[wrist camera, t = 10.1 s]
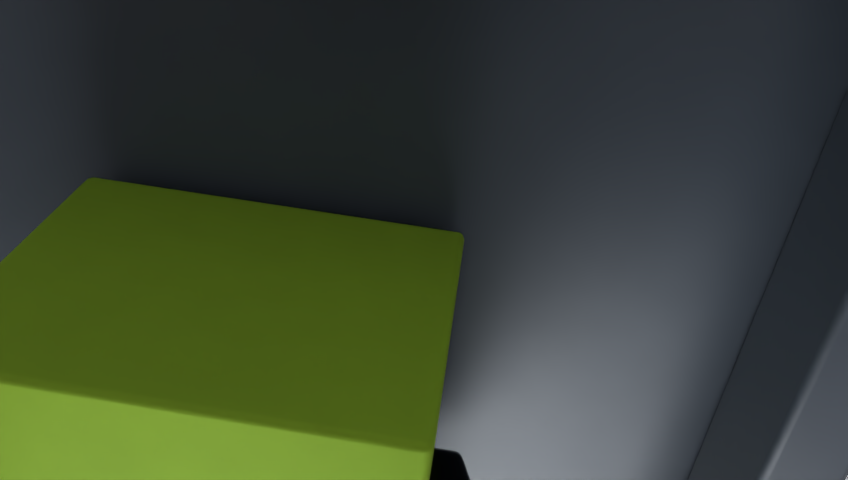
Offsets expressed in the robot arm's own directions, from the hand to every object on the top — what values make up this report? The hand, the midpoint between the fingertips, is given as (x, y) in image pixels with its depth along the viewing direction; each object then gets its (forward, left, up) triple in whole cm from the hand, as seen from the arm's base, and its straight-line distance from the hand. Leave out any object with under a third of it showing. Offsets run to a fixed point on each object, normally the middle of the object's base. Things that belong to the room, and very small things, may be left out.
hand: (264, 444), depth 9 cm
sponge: (0, 0, -1) cm, 1 cm away
